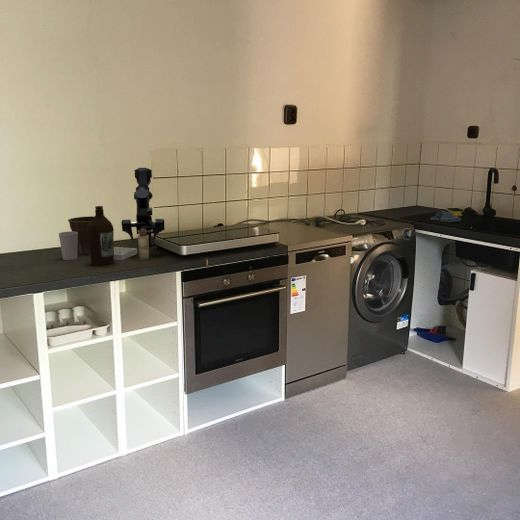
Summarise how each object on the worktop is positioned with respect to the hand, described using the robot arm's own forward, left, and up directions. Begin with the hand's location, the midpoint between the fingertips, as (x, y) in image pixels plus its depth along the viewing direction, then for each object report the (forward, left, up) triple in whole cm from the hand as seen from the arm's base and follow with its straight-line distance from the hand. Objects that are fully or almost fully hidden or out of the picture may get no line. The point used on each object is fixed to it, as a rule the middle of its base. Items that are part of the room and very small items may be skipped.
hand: (143, 240), depth 257 cm
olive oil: (+14, -13, -9) cm, 21 cm away
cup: (+9, -32, -9) cm, 34 cm away
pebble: (+3, -11, -8) cm, 14 cm away
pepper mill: (+1, 0, -9) cm, 9 cm away
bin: (-1, -14, -9) cm, 16 cm away
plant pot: (-6, -32, -9) cm, 33 cm away
